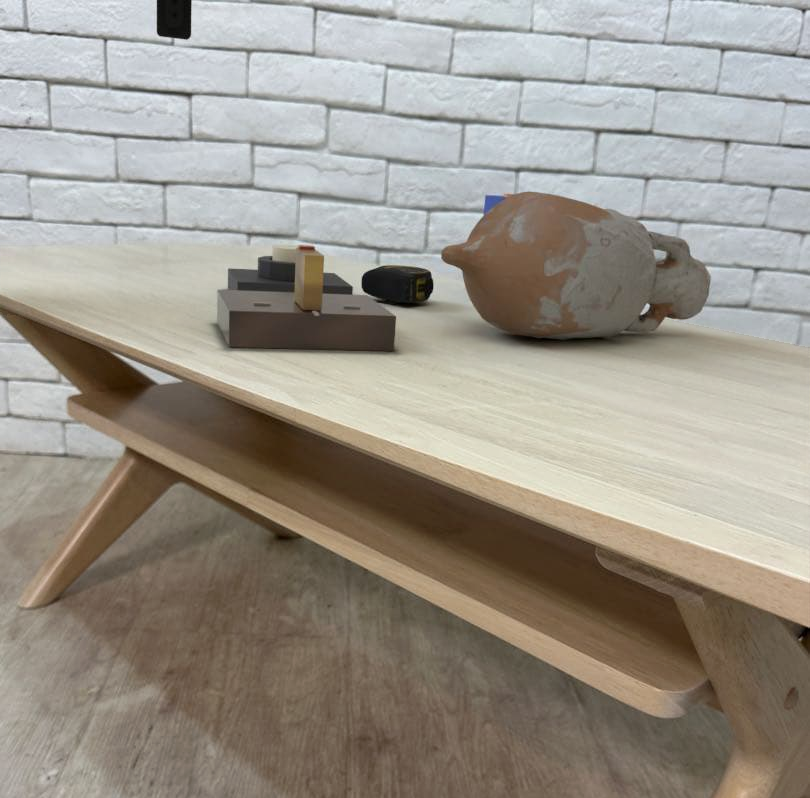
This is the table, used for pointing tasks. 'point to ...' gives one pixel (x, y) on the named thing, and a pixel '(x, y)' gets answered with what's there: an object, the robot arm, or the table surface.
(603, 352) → the table surface
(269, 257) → the dark grey stepped block
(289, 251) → the bell button
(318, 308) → the gold rectangular block
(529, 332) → the amphora
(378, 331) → the plate
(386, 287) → the tape measure
